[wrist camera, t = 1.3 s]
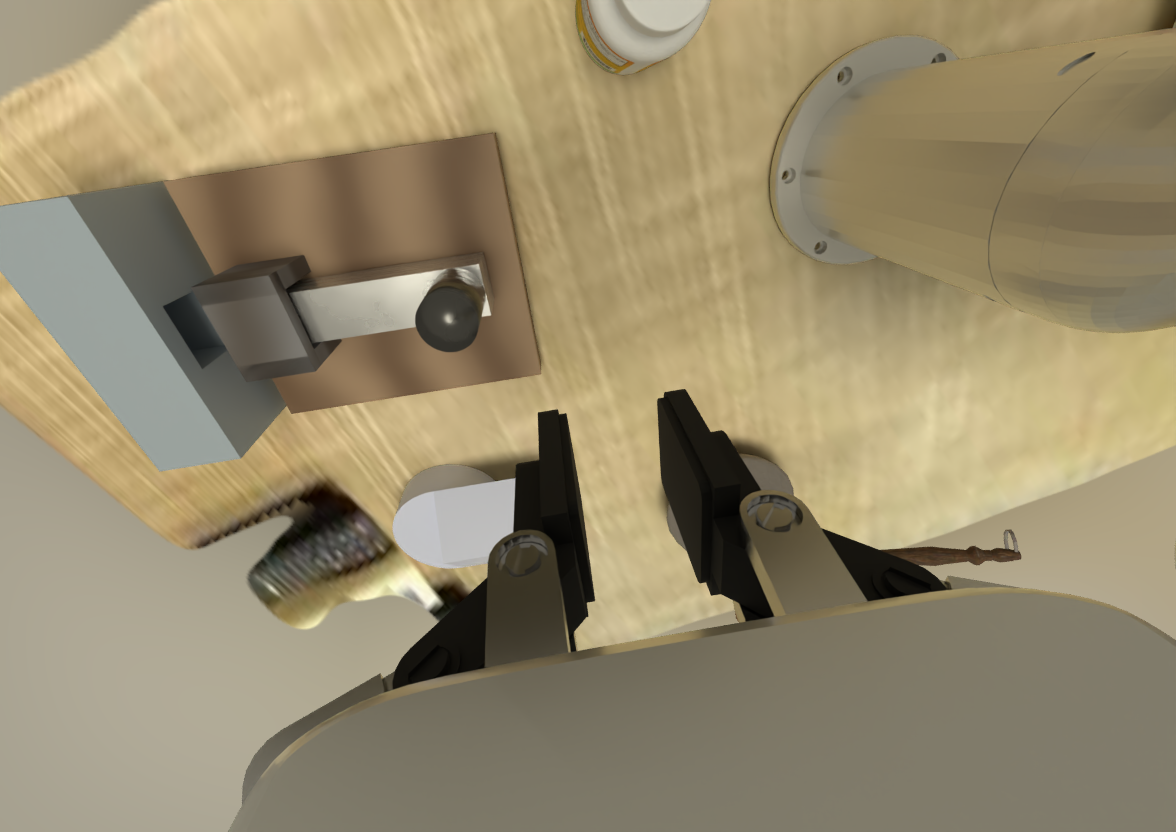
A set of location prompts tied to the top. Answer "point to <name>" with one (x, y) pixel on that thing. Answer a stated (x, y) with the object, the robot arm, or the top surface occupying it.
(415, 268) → the bolt
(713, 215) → the top surface
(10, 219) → the block
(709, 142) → the top surface
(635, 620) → the top surface
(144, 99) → the top surface
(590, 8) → the supplement bottle
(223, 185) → the door panel
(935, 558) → the coffee pot
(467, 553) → the wedge on round base
